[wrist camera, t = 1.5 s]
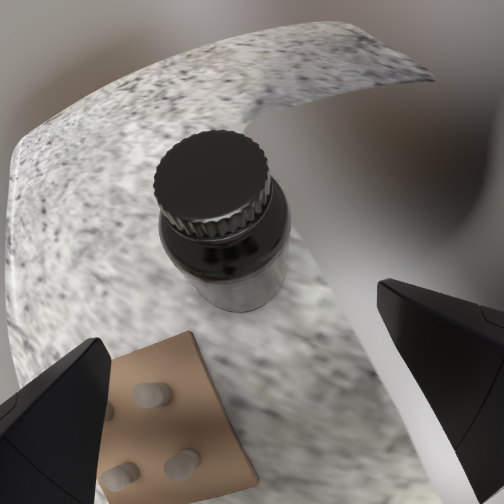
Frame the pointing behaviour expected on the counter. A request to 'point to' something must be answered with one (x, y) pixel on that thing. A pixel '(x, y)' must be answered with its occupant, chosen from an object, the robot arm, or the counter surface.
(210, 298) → the supplement bottle
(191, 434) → the peg stand
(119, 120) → the counter surface
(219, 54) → the counter surface
